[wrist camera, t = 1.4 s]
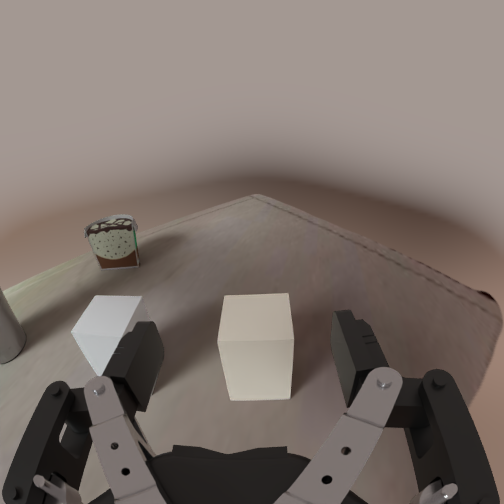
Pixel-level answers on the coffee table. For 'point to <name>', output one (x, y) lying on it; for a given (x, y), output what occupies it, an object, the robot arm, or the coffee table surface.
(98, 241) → the food container
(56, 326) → the coffee table surface
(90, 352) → the cover
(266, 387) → the cover
